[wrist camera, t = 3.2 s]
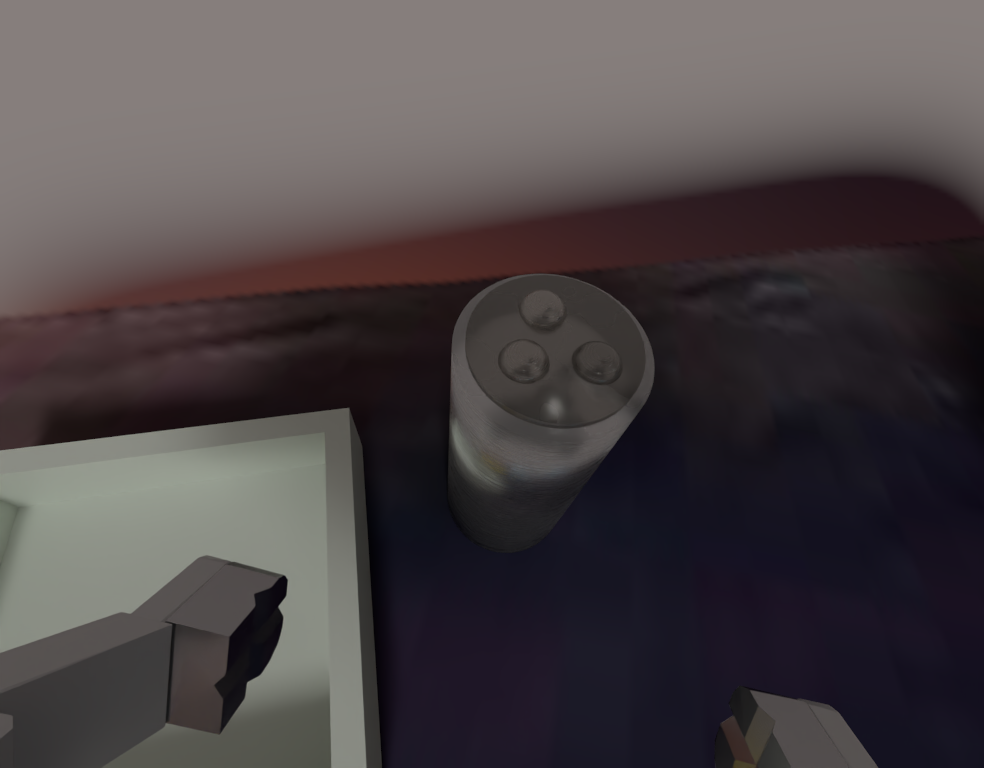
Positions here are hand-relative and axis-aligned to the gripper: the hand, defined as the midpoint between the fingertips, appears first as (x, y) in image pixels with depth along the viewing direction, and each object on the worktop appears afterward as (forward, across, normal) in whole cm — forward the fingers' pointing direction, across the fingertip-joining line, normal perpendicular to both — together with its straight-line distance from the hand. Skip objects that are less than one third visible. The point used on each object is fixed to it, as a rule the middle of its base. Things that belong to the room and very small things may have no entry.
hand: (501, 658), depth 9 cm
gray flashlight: (+14, 0, +4) cm, 15 cm away
